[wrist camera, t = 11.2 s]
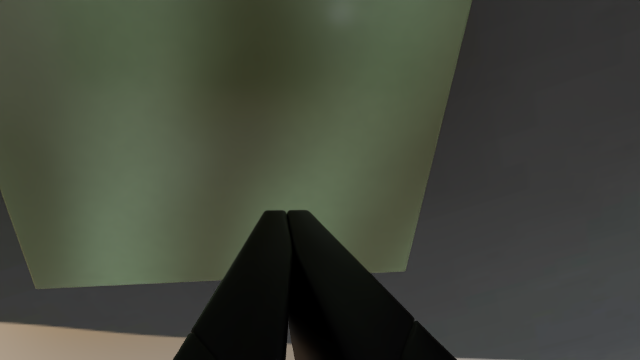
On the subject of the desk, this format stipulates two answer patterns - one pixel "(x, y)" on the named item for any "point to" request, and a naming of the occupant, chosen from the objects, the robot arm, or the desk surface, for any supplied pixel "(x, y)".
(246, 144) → the lid
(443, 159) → the desk surface
